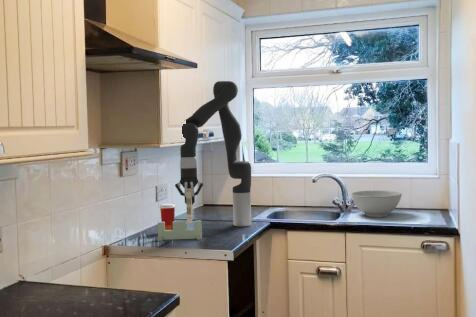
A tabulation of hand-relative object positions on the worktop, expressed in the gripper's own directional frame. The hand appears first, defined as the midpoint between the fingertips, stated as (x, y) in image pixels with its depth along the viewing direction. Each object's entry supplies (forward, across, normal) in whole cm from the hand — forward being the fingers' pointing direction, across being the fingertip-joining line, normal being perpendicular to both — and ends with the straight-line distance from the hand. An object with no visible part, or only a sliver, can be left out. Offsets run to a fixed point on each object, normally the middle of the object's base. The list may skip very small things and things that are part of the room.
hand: (189, 204), depth 239 cm
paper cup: (+16, +12, -15) cm, 25 cm away
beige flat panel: (+7, 0, 0) cm, 7 cm away
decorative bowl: (+16, -100, -44) cm, 110 cm away
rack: (+16, +5, 0) cm, 17 cm away
